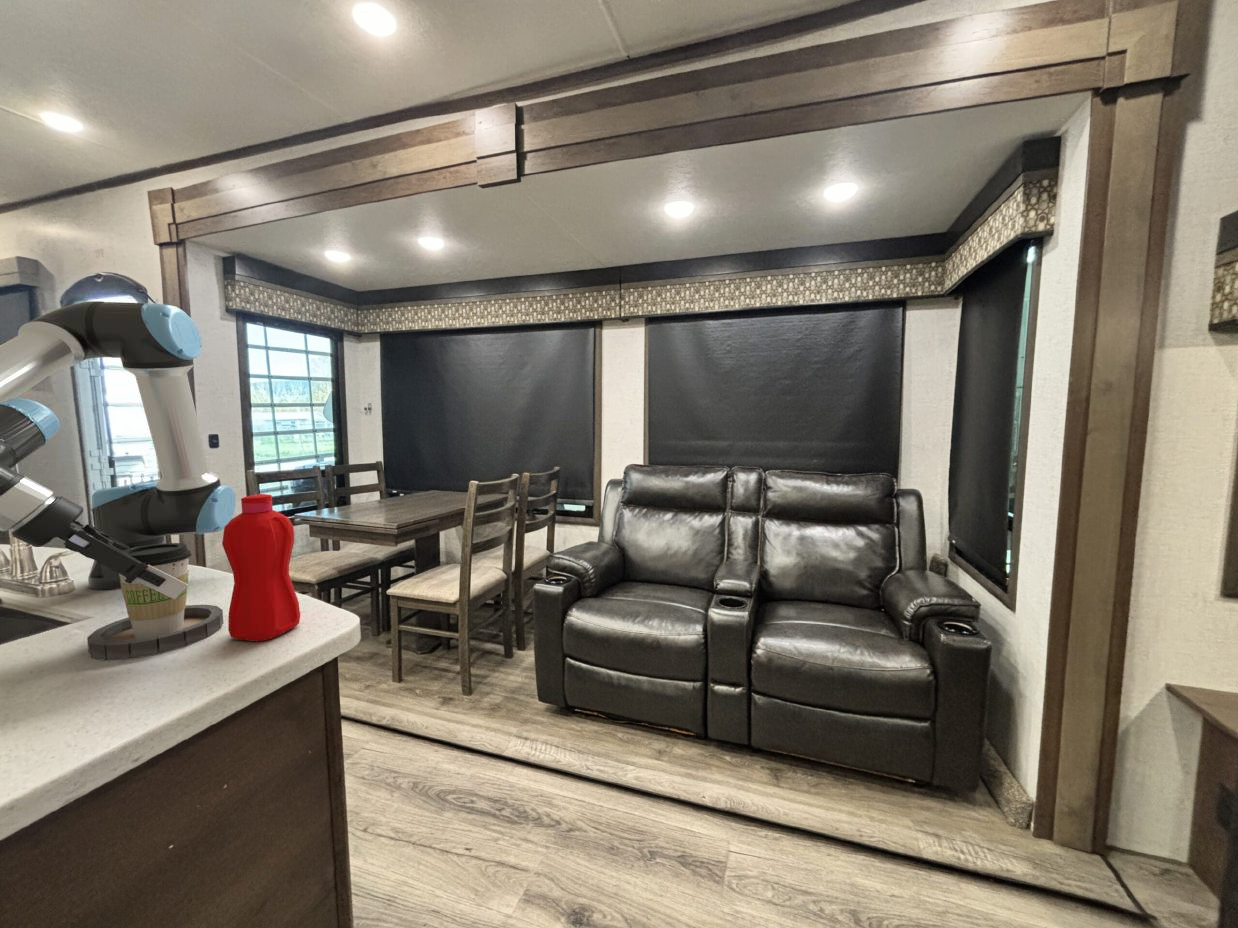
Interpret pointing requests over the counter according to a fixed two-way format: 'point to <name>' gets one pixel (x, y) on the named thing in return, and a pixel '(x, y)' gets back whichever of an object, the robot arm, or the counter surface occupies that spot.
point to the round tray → (122, 644)
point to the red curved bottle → (260, 571)
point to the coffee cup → (148, 605)
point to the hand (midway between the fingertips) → (173, 583)
